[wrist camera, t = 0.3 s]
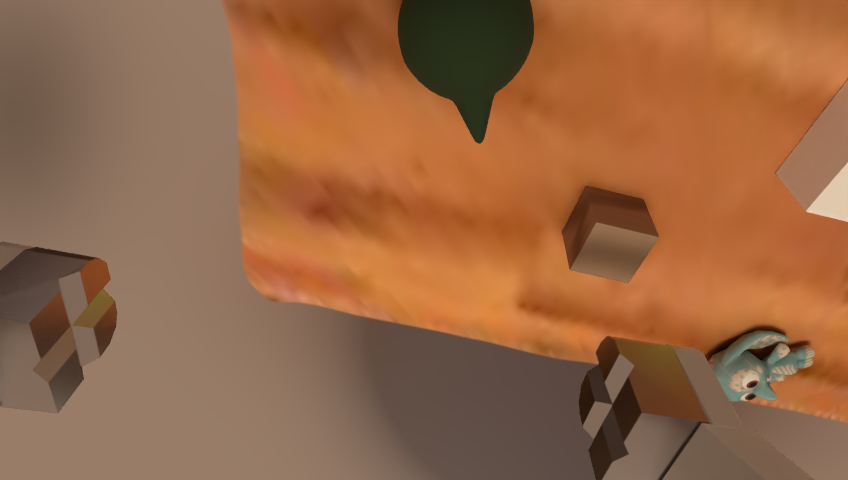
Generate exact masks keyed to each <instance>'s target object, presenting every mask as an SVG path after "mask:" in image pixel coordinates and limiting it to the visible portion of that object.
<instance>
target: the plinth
mask: <svg viewBox="0 0 848 480" xmlns="http://www.w3.org/2000/svg"><path fill="white" fill-rule="evenodd" d="M775 174H776V175H777V176H778V178H779V179H780V180H781V181H782V183H783V184H784V185H785V186H786V188H787V189H788V190H789V191H790V193H791V194H792V195H793V196H794V198H795V199H796V200H797V201H798V203H799V204H800V205H801V206H802V207H803V209H804V210H805V211H806V212H810V213H814V214H818V215H822V216H826V217H830V218H834V219H838V220H842V221H847V222H848V80H847V81H846V82H845V84H844V85H843V86H842V88H841V89H840V90H839V91H838V93H837V94H836V95H835V97H834V98H833V99H832V100H831V102H830V103H829V104H828V106H827V107H826V108H825V110H824V111H823V112H822V113H821V115H820V116H819V117H818V119H817V120H816V121H815V122H814V124H813V125H812V126H811V128H810V129H809V130H808V132H807V133H806V134H805V135H804V137H803V138H802V139H801V141H800V142H799V143H798V144H797V146H796V147H795V148H794V150H793V151H792V152H791V154H790V155H789V156H788V157H787V159H786V160H785V161H784V163H783V164H782V165H781V166H780V168H779V169H778V170H777V172H776V173H775Z"/></svg>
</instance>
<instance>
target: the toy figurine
mask: <svg viewBox="0 0 848 480" xmlns="http://www.w3.org/2000/svg"><path fill="white" fill-rule="evenodd" d="M533 36H534V23H533V13H532V7H531V3H530V0H403V2H402V4H401V8H400V13H399V20H398V37H399V45H400V49H401V53H402V56H403V59H404V62H405V64H406V65H407V67H408V68H409V70H410V71H411V73H412V74H413V75H414V76H415V77H416V78H417V80H418V81H420V82H421V83H422V84H423V85H424V86H425V87H426V88H428V89H429V90H431V91H432V92H434V93H436V94H437V95H439V96H442V97H444V98H447V99H450V100H452V101H453V102H454V103H455V105H456V106H457V108H458V110H459V112H460V114H461V116H462V118H463V120H464V121H465V123H466V125H467V127H468V129H469V131H470V133H471V135H472V137H473V138H474V140H475V141H476V142H477V143H479V144H480V143H481V142H482V141H483V139H484V137H485V133H486V128H487V124H488V119H489V115H490V110H491V106H492V101H493V98H494V95H495V94H496V93H497V92H498V91H499V90H501V89H502V88H503V87H504V86H506V85H507V84H508V83H509V82H510V81H511V80H512V79H513V78H514V76H515V75H516V74H517V73H518V71H519V70H520V69H521V67H522V66H523V64H524V62H525V60H526V58H527V56H528V54H529V52H530V49H531V46H532V43H533Z"/></svg>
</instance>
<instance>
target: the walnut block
mask: <svg viewBox="0 0 848 480" xmlns="http://www.w3.org/2000/svg"><path fill="white" fill-rule="evenodd" d="M562 234H563V239H564V244H565V249H566V254H567V259H568V264H569V269H570V270H572V271H576V272H581V273H585V274H589V275H594V276H598V277H602V278H607V279H611V280H616V281H620V282H624V283H629V282H630V280H631V279H632V277H633V276H634V274H635V273H636V271H637V270H638V268H639V267H640V265H641V264H642V262H643V261H644V259H645V258H646V256H647V255H648V253H649V252H650V250H651V249H652V247H653V246H654V244H655V243H656V241H657V240H658V238H659V236H658V233H657V231H656V228H655V226H654V224H653V221H652V219H651V216H650V214H649V212H648V209H647V207H646V205H645V202H644V200H643V199H639V198H635V197H630V196H626V195H622V194H618V193H614V192H610V191H606V190H602V189H598V188H593V187H589V186H585V188H584V190H583V192H582V194H581V196H580V198H579V200H578V202H577V204H576V206H575V208H574V210H573V212H572V214H571V216H570V218H569V220H568V222H567V224H566V225H565V227H564V229H563V231H562Z"/></svg>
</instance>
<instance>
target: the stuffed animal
mask: <svg viewBox="0 0 848 480" xmlns="http://www.w3.org/2000/svg"><path fill="white" fill-rule="evenodd" d="M785 342H790V340H789V339H788V338H787V337H786V336H785V335H783V334H780V333H777V332H774V331H762V330H756V331H753V332H750V333H746V334H744V335H742V336H741V337H740V338H739V339H738V340H736V341H735V342H734V343H732V344H731V345H730V346H729V347H728V348H727V349H725V350H722V351H720V352H718V353H716V354H713V355H712V357H711V358H710V360H709V362H708V363H709V365H710V367H711V368H712V370H713V372H714V374H715V376H716V377H717V379H718V381H719V383H720V385H721V386H722V388H723V390H724V392H725V394H726V396H727V397H728V399H729V400H731V401H733V402H736V401H748V400H752V399H754V398H757V397H759V398H761V399H765V400H776V399H777V396H776V393H775V392H774V391H773V389H772V388H771V386H770V384H771V383H773V382H774V381H779V382H781V381H783V380H784V378H785V375H791V374H794V373H796V372H797V371H798V368H806V367H809V366H811V365H812V364H813V360H812V357H814V356H815V351H814V349H813V348H812V347H811V346H809V345H804V346H801V347H799V348H798V349H796V350H795V351H794V352H790V349H789V347H788V346H787V345H786V344H783V343H785ZM775 344H778V345H777V346H776V347H775V348H774V350H773V351H772V353H771V354H770V355H768V356H766V357H765V358H764V359H762V360H759V359H758V358H757V357H755V356H754V355H753V354H751V353H750V352H749V351H747V350H755V349H759V348H763V347H766V346H770V345H775Z"/></svg>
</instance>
